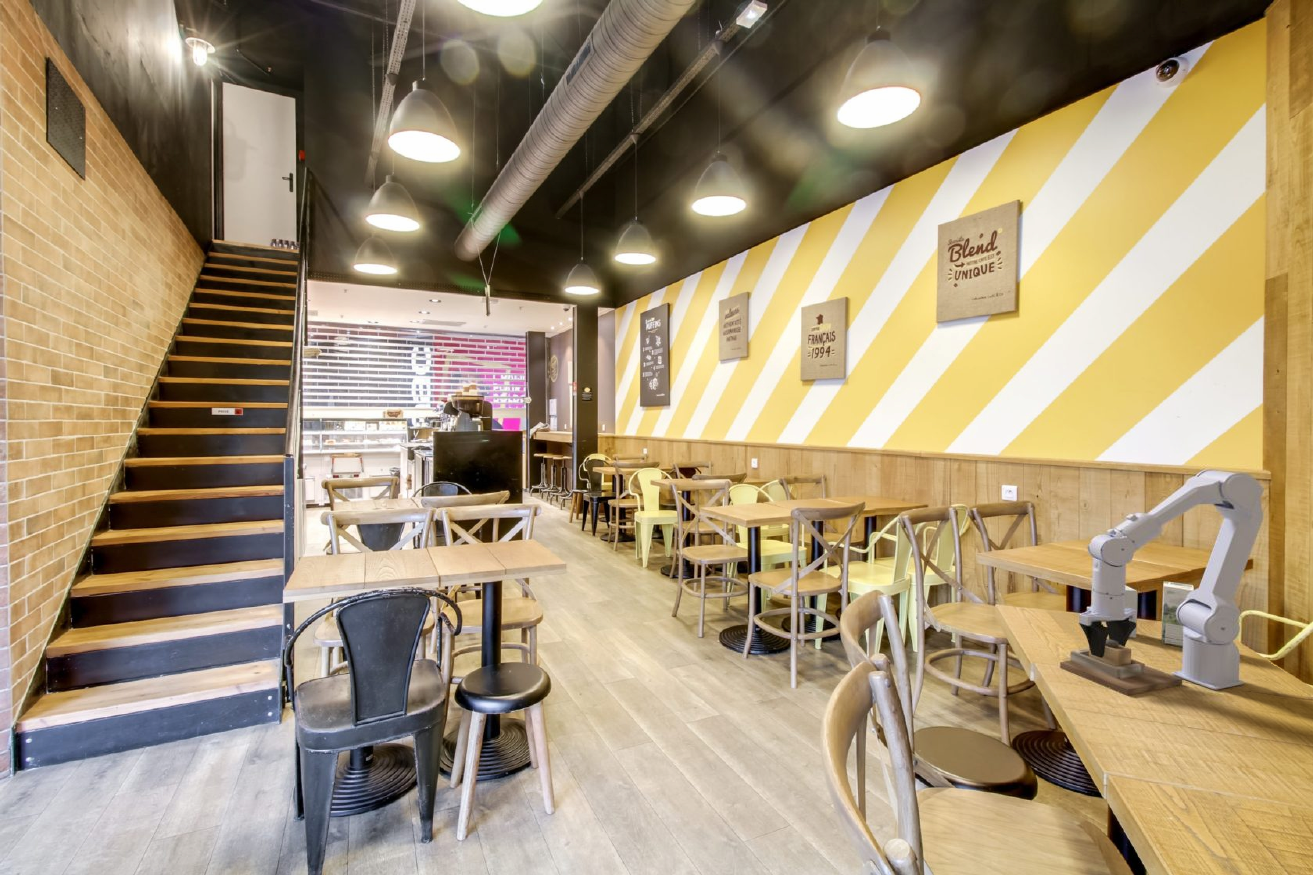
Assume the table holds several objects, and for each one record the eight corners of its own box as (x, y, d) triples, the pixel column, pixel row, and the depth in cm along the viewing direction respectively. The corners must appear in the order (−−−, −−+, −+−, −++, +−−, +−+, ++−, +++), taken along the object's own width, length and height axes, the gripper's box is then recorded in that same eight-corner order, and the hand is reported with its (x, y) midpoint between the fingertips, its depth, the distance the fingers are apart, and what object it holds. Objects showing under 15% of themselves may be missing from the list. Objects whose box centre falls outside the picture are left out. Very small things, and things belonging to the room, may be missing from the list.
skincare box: (1137, 638, 150) (1138, 590, 150) (1117, 637, 151) (1119, 589, 151) (1123, 630, 156) (1124, 584, 156) (1105, 628, 157) (1106, 583, 157)
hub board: (1112, 658, 137) (1112, 644, 137) (1182, 684, 124) (1182, 668, 124) (1060, 667, 132) (1060, 652, 132) (1127, 695, 119) (1127, 678, 119)
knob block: (1102, 661, 133) (1102, 635, 132) (1131, 672, 127) (1131, 645, 127) (1088, 663, 131) (1089, 637, 131) (1117, 674, 126) (1117, 647, 125)
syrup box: (1192, 642, 147) (1193, 584, 147) (1192, 649, 143) (1194, 589, 142) (1161, 637, 151) (1163, 579, 151) (1161, 643, 147) (1163, 584, 146)
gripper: (1113, 584, 135) (1111, 643, 136) (1065, 589, 131) (1064, 651, 131) (1147, 592, 128) (1145, 655, 129) (1098, 598, 124) (1096, 663, 124)
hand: (1106, 654), depth 130 cm, fingers open, 5 cm apart
